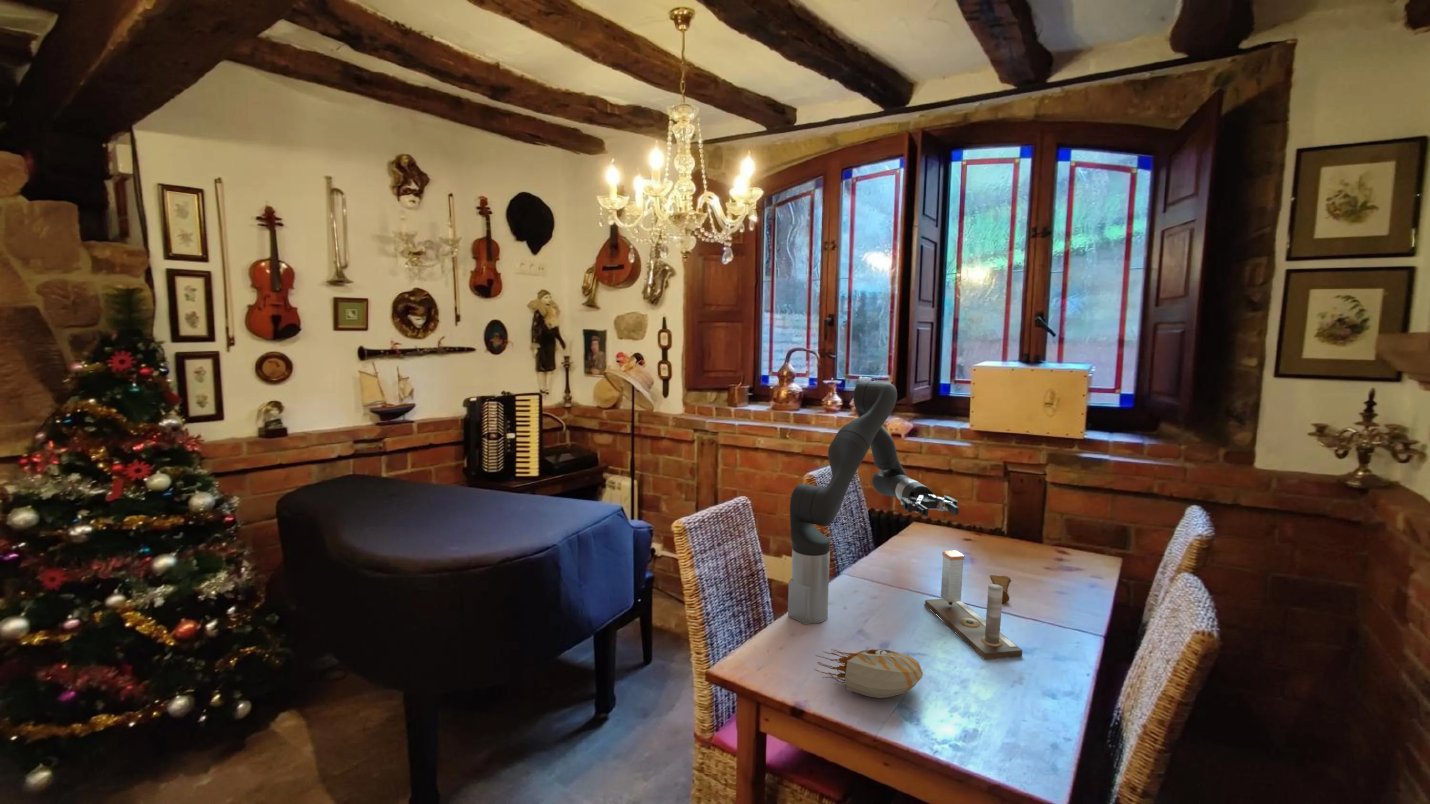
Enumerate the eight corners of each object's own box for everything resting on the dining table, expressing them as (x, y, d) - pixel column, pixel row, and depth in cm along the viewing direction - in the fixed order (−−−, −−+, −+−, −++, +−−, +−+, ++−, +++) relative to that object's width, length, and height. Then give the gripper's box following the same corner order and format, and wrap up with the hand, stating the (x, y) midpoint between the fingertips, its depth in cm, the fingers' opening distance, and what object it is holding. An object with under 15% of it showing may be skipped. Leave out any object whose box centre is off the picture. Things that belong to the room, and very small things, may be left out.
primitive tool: (989, 576, 187) (990, 564, 186) (1010, 579, 185) (1011, 567, 184) (993, 603, 169) (994, 591, 168) (1016, 607, 167) (1017, 594, 166)
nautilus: (803, 691, 129) (828, 660, 142) (911, 718, 118) (928, 683, 131) (802, 652, 128) (828, 626, 141) (911, 676, 118) (928, 645, 131)
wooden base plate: (1021, 656, 142) (1026, 594, 140) (984, 659, 140) (988, 596, 138) (956, 602, 168) (960, 549, 166) (924, 605, 166) (927, 551, 165)
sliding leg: (961, 606, 161) (964, 555, 159) (947, 607, 160) (950, 556, 159) (953, 600, 165) (956, 550, 163) (939, 601, 164) (942, 551, 162)
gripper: (890, 482, 180) (916, 499, 164) (937, 480, 182) (968, 497, 166) (889, 508, 181) (915, 527, 165) (936, 506, 183) (966, 524, 168)
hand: (942, 512), depth 166 cm, fingers open, 8 cm apart
